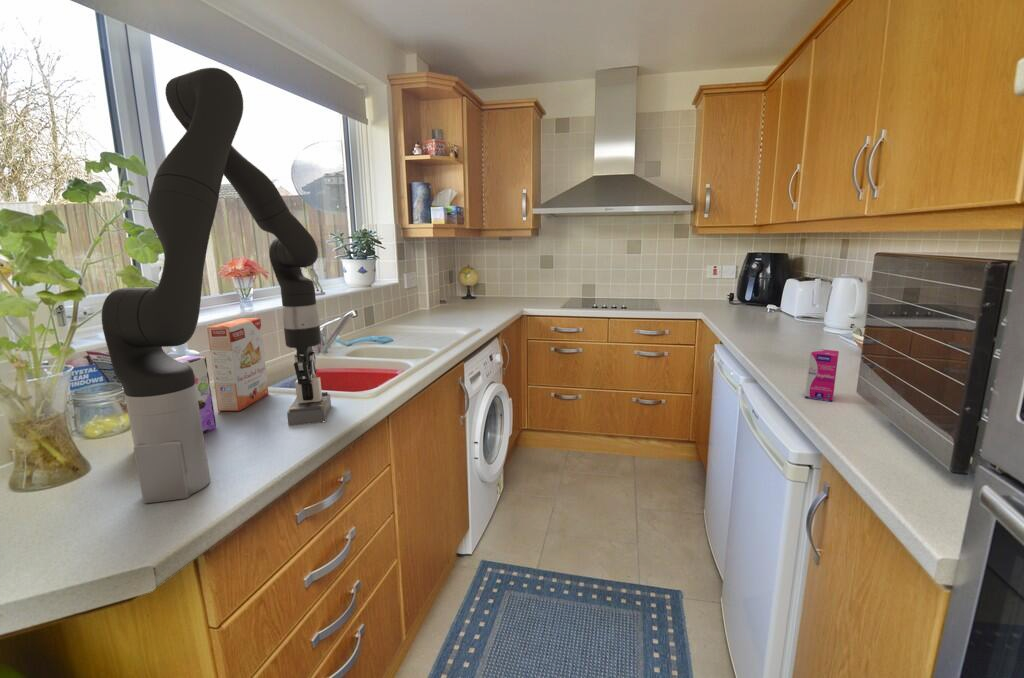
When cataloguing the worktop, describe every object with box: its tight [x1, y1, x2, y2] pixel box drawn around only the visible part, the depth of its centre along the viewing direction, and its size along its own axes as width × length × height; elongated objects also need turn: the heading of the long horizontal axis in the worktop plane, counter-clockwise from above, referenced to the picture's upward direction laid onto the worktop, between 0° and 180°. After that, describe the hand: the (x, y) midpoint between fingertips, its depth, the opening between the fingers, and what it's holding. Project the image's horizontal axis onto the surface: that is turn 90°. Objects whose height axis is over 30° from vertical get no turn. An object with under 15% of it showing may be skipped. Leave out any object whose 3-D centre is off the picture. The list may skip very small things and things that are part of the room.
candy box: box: [173, 355, 217, 434], centre depth 100 cm, size 14×6×16 cm, turn 161°
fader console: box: [286, 391, 332, 427], centre depth 114 cm, size 12×8×4 cm, turn 13°
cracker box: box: [206, 317, 269, 412], centre depth 122 cm, size 14×6×21 cm, turn 179°
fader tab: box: [294, 376, 322, 403], centre depth 114 cm, size 3×5×5 cm, turn 103°
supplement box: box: [804, 347, 840, 403], centre depth 118 cm, size 6×6×12 cm
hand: (309, 397), depth 114 cm, fingers closed on fader tab, 3 cm apart
